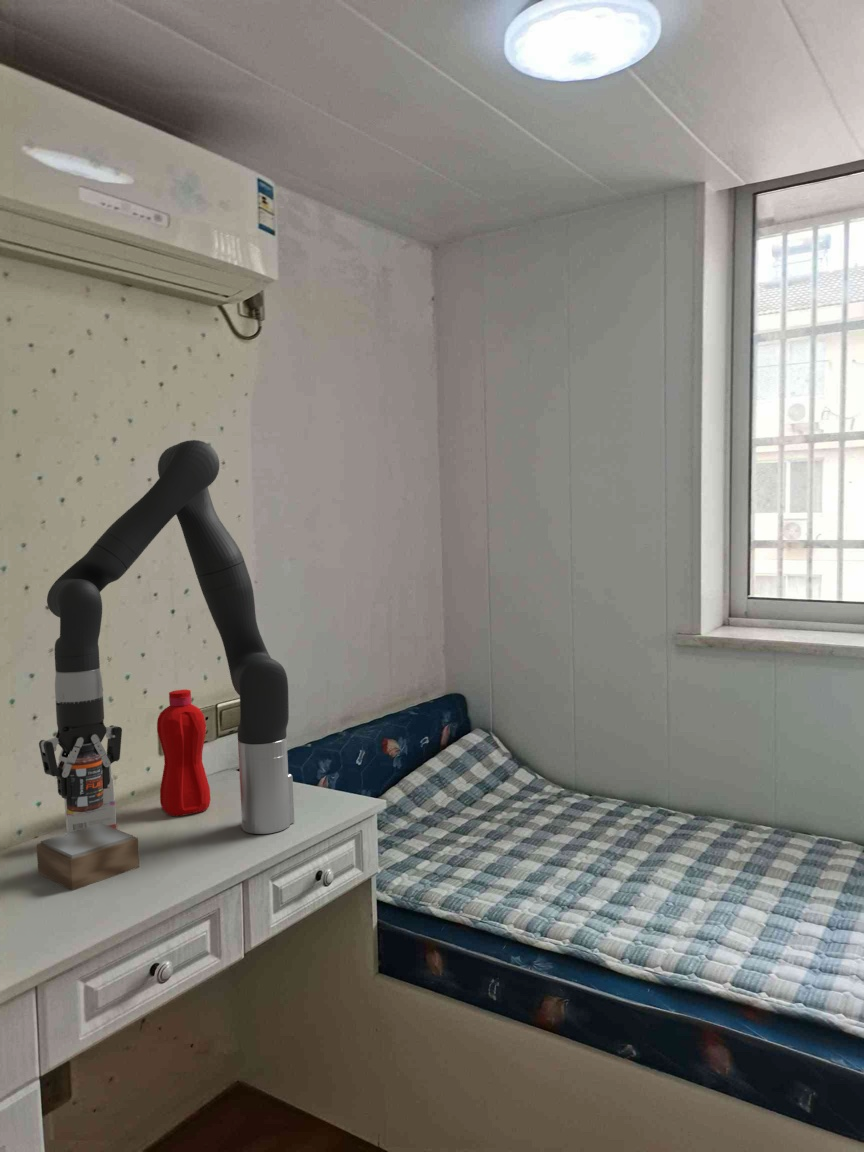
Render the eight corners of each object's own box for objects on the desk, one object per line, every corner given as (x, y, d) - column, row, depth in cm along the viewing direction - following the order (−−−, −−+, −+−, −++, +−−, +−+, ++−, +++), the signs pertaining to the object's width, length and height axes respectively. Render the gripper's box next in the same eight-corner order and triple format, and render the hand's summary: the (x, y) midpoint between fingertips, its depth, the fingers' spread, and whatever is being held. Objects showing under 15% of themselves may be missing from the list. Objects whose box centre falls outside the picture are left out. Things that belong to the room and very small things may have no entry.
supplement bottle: (91, 814, 147) (87, 747, 147) (59, 812, 148) (55, 746, 148) (111, 803, 153) (107, 738, 152) (80, 801, 154) (76, 738, 154)
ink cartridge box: (113, 831, 171) (109, 756, 170) (117, 839, 166) (113, 762, 165) (66, 839, 167) (61, 763, 166) (68, 848, 162) (64, 769, 161)
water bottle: (199, 797, 190) (193, 683, 189) (214, 811, 181) (208, 690, 179) (155, 806, 185) (149, 688, 184) (169, 820, 176) (162, 696, 174)
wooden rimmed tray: (103, 851, 160) (102, 821, 159) (139, 866, 152) (137, 835, 152) (38, 872, 151) (36, 841, 150) (72, 890, 143) (70, 857, 142)
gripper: (107, 687, 157) (112, 779, 158) (27, 700, 147) (32, 799, 148) (129, 691, 153) (134, 786, 154) (48, 705, 142) (54, 808, 143)
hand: (84, 792), depth 151 cm, fingers closed on supplement bottle, 6 cm apart
